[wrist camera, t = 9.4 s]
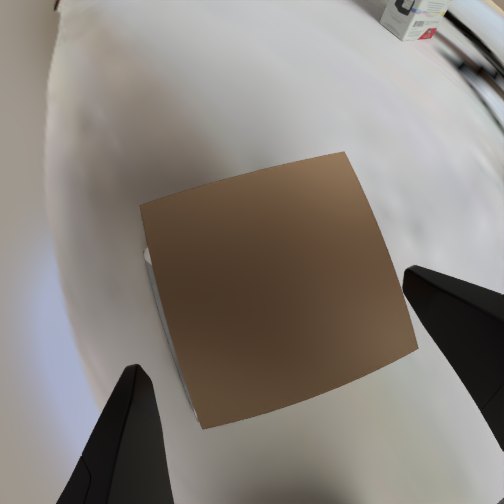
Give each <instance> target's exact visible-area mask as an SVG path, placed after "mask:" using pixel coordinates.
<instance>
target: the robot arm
mask: <svg viewBox="0 0 504 504" xmlns="http://www.w3.org/2000/svg"><path fill="white" fill-rule="evenodd" d="M402 289H403V293H404V295H405V296H406V298H407V300H408V301H409V303H410V304H411V306H412V308H413V309H414V311H415V313H416V314H417V316H418V318H419V319H420V321H421V323H422V324H423V326H424V327H425V329H426V330H427V332H428V333H429V335H430V336H431V337H432V339H433V340H434V341H435V343H436V344H437V346H438V347H439V349H440V350H441V351H442V353H443V354H444V356H445V357H446V359H447V360H448V361H449V363H450V364H451V366H452V367H453V369H454V370H455V372H456V373H457V375H458V376H459V378H460V379H461V381H462V383H463V384H464V386H465V387H466V389H467V390H468V392H469V393H470V395H471V397H472V398H473V400H474V402H475V403H476V405H477V406H478V408H479V410H480V411H481V413H482V415H483V417H484V418H485V420H486V422H487V424H488V425H489V427H490V429H491V431H492V432H493V434H494V436H495V438H496V440H497V442H498V443H499V445H500V447H501V449H502V450H503V452H504V294H502V295H501V293H498V292H495V291H492V290H489V289H486V288H484V287H481V286H478V285H475V284H472V283H469V282H466V281H463V280H460V279H457V278H454V277H451V276H448V275H445V274H442V273H439V272H436V271H433V270H430V269H427V268H424V267H420V266H417V265H413V266H411V267H409V268H407V269H405V271H404V278H403V286H402ZM56 504H174V500H173V495H172V490H171V485H170V479H169V473H168V467H167V461H166V454H165V447H164V439H163V432H162V425H161V420H160V416H159V412H158V407H157V403H156V398H155V393H154V388H153V384H152V381H151V379H150V377H149V376H148V375H147V374H146V372H145V371H144V370H143V369H142V367H141V366H140V365H139V364H133V365H129V366H127V367H126V368H125V369H124V371H123V373H122V375H121V377H120V378H119V380H118V382H117V384H116V386H115V388H114V390H113V392H112V394H111V396H110V397H109V399H108V401H107V403H106V405H105V407H104V409H103V411H102V413H101V415H100V417H99V419H98V421H97V423H96V425H95V427H94V429H93V432H92V433H91V435H90V438H89V440H88V442H87V444H86V446H85V448H84V450H83V452H82V456H81V457H80V459H79V461H78V463H77V465H76V467H75V469H74V471H73V473H72V475H71V477H70V479H69V481H68V483H67V485H66V487H65V488H64V490H63V492H62V494H61V496H60V498H59V499H58V501H57V503H56ZM497 504H504V498H503V499H502V500H501V501H500V502H499V503H497Z"/></svg>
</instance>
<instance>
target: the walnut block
mask: <svg viewBox="0 0 504 504" xmlns="http://www.w3.org/2000/svg"><path fill="white" fill-rule="evenodd" d="M140 209H141V214H142V220H143V225H144V230H145V235H146V240H147V245H148V250H149V254H150V259H151V263H152V268H153V272H154V276H155V280H156V284H157V288H158V292H159V296H160V300H161V304H162V308H163V312H164V315H165V319H166V322H167V326H168V329H169V333H170V336H171V340H172V343H173V346H174V350H175V353H176V356H177V359H178V362H179V366H180V369H181V372H182V375H183V378H184V381H185V384H186V387H187V389H188V392H189V395H190V398H191V401H192V404H193V406H194V409H195V412H196V414H197V417H198V420H199V422H200V425H201V427H202V429H207V428H212V427H216V426H220V425H224V424H228V423H232V422H236V421H240V420H244V419H247V418H251V417H254V416H258V415H261V414H265V413H268V412H271V411H274V410H278V409H281V408H284V407H287V406H290V405H293V404H296V403H298V402H301V401H304V400H307V399H309V398H312V397H315V396H318V395H320V394H323V393H325V392H328V391H330V390H333V389H335V388H338V387H340V386H343V385H345V384H347V383H350V382H352V381H354V380H356V379H359V378H361V377H363V376H365V375H367V374H370V373H372V372H374V371H376V370H378V369H380V368H382V367H384V366H386V365H388V364H390V363H392V362H394V361H396V360H398V359H400V358H402V357H404V356H406V355H408V354H410V353H411V352H413V351H415V350H417V349H418V345H417V341H416V337H415V333H414V329H413V326H412V322H411V319H410V315H409V312H408V309H407V305H406V302H405V299H404V296H403V292H402V289H401V286H400V283H399V280H398V277H397V274H396V272H395V269H394V266H393V263H392V260H391V257H390V255H389V252H388V249H387V247H386V244H385V241H384V239H383V236H382V234H381V231H380V229H379V226H378V224H377V221H376V219H375V217H374V214H373V212H372V209H371V207H370V205H369V202H368V200H367V198H366V196H365V193H364V191H363V189H362V187H361V185H360V182H359V180H358V178H357V176H356V174H355V172H354V170H353V168H352V166H351V164H350V162H349V160H348V158H347V156H346V154H345V152H339V153H334V154H329V155H324V156H319V157H314V158H310V159H305V160H300V161H296V162H292V163H287V164H283V165H279V166H274V167H270V168H266V169H262V170H258V171H254V172H250V173H246V174H243V175H239V176H235V177H231V178H228V179H224V180H220V181H217V182H213V183H210V184H206V185H203V186H199V187H196V188H192V189H189V190H186V191H183V192H179V193H176V194H173V195H170V196H166V197H163V198H160V199H157V200H154V201H151V202H148V203H145V204H142V205H140Z"/></svg>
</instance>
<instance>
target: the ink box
mask: <svg viewBox="0 0 504 504" xmlns="http://www.w3.org/2000/svg"><path fill="white" fill-rule="evenodd" d="M451 1H452V0H389V1H388V3H387V5H386V8H385V10H384V13H383V15H382V18H381V20H380V24H382V25H383V26H384V27H385V28H387V29H388V30H389V31H390V32H392V33H393V34H394V35H395V36H397V37H398V38H399V39H400V40H402V41H408V40H417V39H428V38H431V37H432V35H433V34H434V32H435V30H436V28H437V27H438V25H439V23H440V21H441V19H442V18H443V16H444V14H445V12H446V10H447V9H448V7H449V5H450V3H451Z"/></svg>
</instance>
